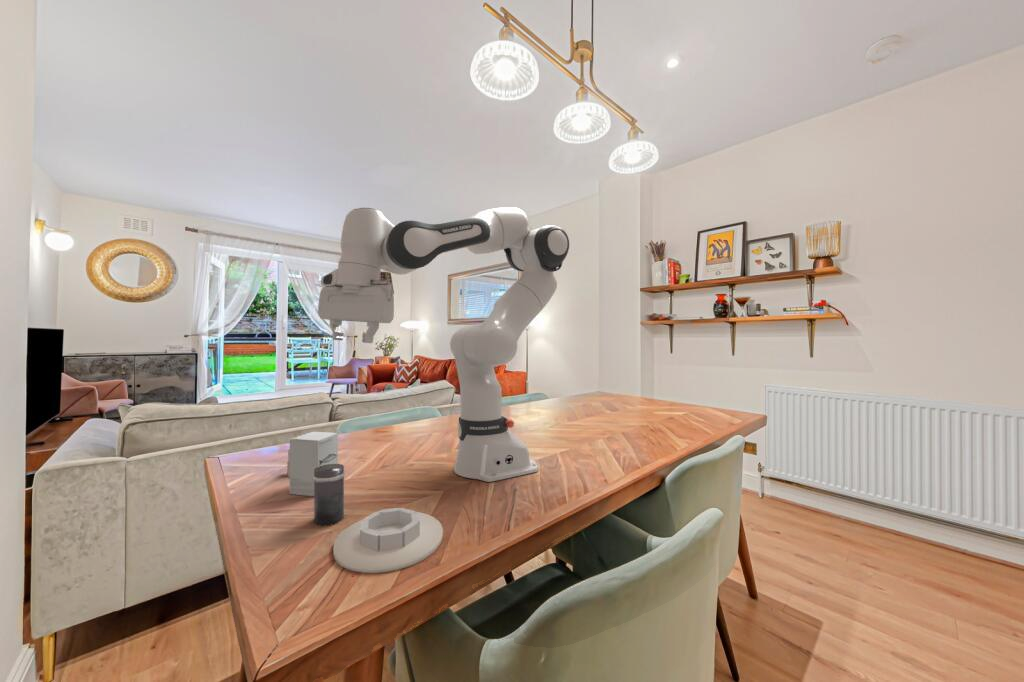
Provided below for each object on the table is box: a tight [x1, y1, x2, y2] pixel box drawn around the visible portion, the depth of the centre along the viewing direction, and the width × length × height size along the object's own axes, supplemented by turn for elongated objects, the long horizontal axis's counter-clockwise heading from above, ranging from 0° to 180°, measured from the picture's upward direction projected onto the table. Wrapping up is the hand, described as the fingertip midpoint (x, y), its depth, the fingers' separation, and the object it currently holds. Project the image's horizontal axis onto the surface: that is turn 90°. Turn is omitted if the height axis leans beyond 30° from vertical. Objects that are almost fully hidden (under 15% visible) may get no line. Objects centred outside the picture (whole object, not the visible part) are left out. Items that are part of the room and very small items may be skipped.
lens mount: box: [332, 507, 444, 574], centre depth 66 cm, size 18×18×4 cm
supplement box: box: [289, 431, 339, 497], centre depth 87 cm, size 7×7×13 cm
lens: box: [313, 463, 345, 527], centre depth 73 cm, size 5×5×10 cm
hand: (351, 341), depth 84 cm, fingers open, 8 cm apart
